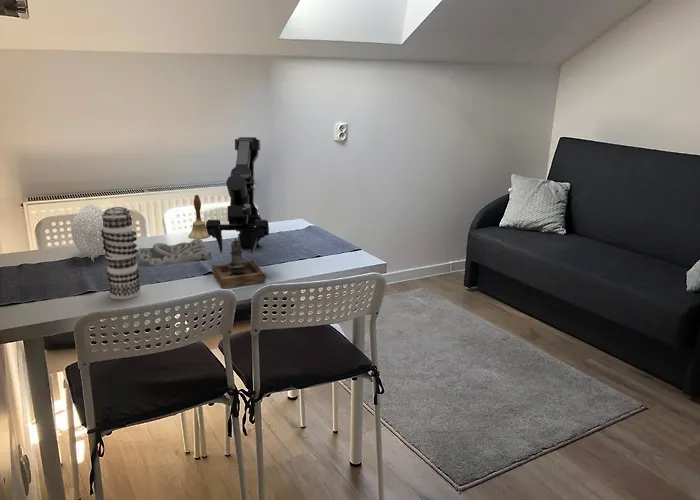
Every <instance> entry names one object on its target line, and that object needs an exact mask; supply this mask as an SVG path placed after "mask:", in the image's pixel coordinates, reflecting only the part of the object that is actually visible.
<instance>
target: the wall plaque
mask: <svg viewBox="0 0 700 500" xmlns="http://www.w3.org/2000/svg"><path fill="white" fill-rule="evenodd" d="M136 250H137V256H136V257H137V259H138V260H139V259H140V260H139V266H140V267H156V265H158V266H163V264H165V265H173V264H174V265H175V264H182V263H191V262H196V261H197V260H202V259H203V260H206V261H209V259H210V258H212V253H211V252H210V251H209V249H208V248H207V246H206V244H205V243H204V241H203V239H193V240H191V241H190V242H180V243H177V244H172V245H170V244H169V245H168V244H167V243H162V242H157V243H154V244H153V245H152V247H139V248H138V249H136ZM152 258H157V259H152ZM210 260H211V259H210Z"/></svg>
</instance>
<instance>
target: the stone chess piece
mask: <svg viewBox="0 0 700 500" xmlns="http://www.w3.org/2000/svg"><path fill="white" fill-rule="evenodd" d="M230 246H231V251H230V254H231V261H230V262H229V263H227V264H228V265H227V266H228V267H229V270H230V271H231V272H232V273H231V274H230V275H229V276H236V275H244V274H246V273H245V272H243V271H244V270H245V268H246V265H247V263H246V261H243V258H242V254H243V251H242V248H241V243H240V242H239V241H238V238H237V237H235V238H234V239H233V241H232V242H231V243H230Z"/></svg>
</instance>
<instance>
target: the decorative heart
mask: <svg viewBox="0 0 700 500" xmlns="http://www.w3.org/2000/svg"><path fill="white" fill-rule="evenodd" d="M102 214H104V212H103V211H102V210H101V208H99V207H98V206H96V205H93V204H87V205H85V206H83V207H82V208H81V209H80V210H79V211H78V213H77V214H76V215H75V216H74V217H73V219H72V223H71V227H70V229H71V237H72V240H73V243H74V244H75V247H77V249H78V250H79V251H80V253H82V254H83V255H84V256H86V257H88V258H90V257H91V258H90V259H91V260H92V263H94V262H95V260H94V259H96V258H98V257H99V256H100V255H101V254H102V253H103V252H104V251H105V249H103V247H104V244H103V240H104V239H103V237H101V235H102V232H101V231H102V230H101V229H103V218H102V216H101V215H102ZM103 232H104V231H103ZM104 236H105V234H104ZM95 257H96V258H95Z"/></svg>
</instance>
